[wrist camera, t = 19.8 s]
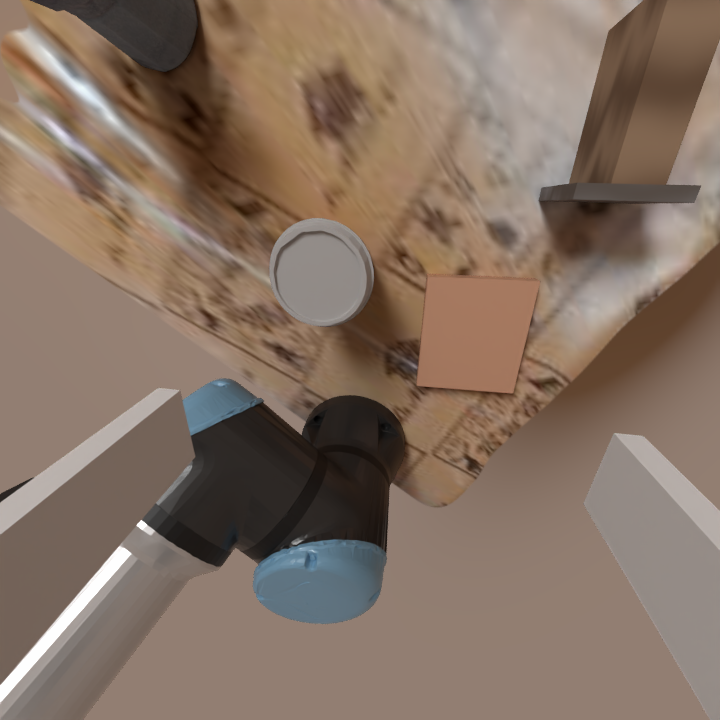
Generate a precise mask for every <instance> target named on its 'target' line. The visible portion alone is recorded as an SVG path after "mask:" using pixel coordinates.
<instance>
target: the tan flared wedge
mask: <svg viewBox="0 0 720 720" xmlns="http://www.w3.org/2000/svg"><path fill="white" fill-rule="evenodd" d="M719 40H720V0H643V1H642V2H641V3H640V4H639V5H638V6H637V7H635V8H634V9H633V10H632V11H631V12H630V13H629V14H627V15H626V16H625V17H624V18H623V19H622V20H621V21H619V22H618V23H617V24H616V25H615V26H614V27H613V28H612V29H610V30H609V32H608V36H607V40H606V43H605V47H604V51H603V55H602V59H601V63H600V66H599V70H598V74H597V78H596V82H595V86H594V90H593V93H592V97H591V101H590V105H589V109H588V113H587V116H586V120H585V124H584V128H583V132H582V136H581V139H580V143H579V147H578V151H577V155H576V159H575V162H574V166H573V170H572V174H571V178H570V182H569V184H564V185H557V186H550V187H543V188H542V189H541V193H540V197H539V201H563V202H596V203H630V204H640V203H694V202H695V200H696V197H697V195H698V192H699V190H700V187H701V186H696V185H666V183H667V181H668V178H669V175H670V172H671V170H672V167H673V164H674V162H675V159H676V156H677V154H678V151H679V148H680V145H681V143H682V140H683V137H684V135H685V132H686V129H687V127H688V124H689V121H690V118H691V116H692V113H693V110H694V108H695V105H696V102H697V99H698V97H699V94H700V91H701V89H702V86H703V83H704V81H705V78H706V75H707V72H708V70H709V67H710V64H711V62H712V59H713V56H714V54H715V51H716V48H717V45H718V43H719Z"/></svg>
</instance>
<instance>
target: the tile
mask: <svg viewBox="0 0 720 720" xmlns="http://www.w3.org/2000/svg"><path fill="white" fill-rule="evenodd" d="M539 285H540V281H539V280H537V279H535V278H516V277H492V276H468V275H444V274H427V278H426V288H425V298H424V308H423V318H422V328H421V338H420V348H419V358H418V368H417V378H416V384H417V386H425V387H437V388H450V389H463V390H475V391H488V392H501V393H513V392H514V387H515V383H516V379H517V375H518V371H519V367H520V363H521V359H522V355H523V350H524V346H525V342H526V338H527V334H528V330H529V326H530V322H531V318H532V314H533V309H534V305H535V301H536V297H537V293H538V289H539Z"/></svg>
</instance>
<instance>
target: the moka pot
mask: <svg viewBox="0 0 720 720" xmlns="http://www.w3.org/2000/svg"><path fill="white" fill-rule="evenodd" d="M30 1H33V2H35V3H38V4H40V5H43V6H45V7H48V8H50V9H52V10H55V11H61V10H65V11H67V12H69V13H71V14H73V15H75V16H77V17H78V18H79V19H81V20H82V21H83V22H85V23H86V24H87V25H88V26H90V27H91V28H92V29H94V30H95V31H96V32H98V33H99V34H100V35H102V36H103V37H104V38H106V39H107V40H108V41H110V42H111V43H112V44H114V45H115V46H116V47H118V48H119V49H120V50H121V51H123V52H124V53H125V54H127V55H128V56H129V57H131V58H132V59H133V60H135V61H136V62H137V63H139V64H140V65H141V66H144V67H146V68H150V69H153V70H158V71H161V72H166V71H169V70H171V69H174V68H176V67H178V66H179V65H180V64H181V63H182V62H183V61H184V60H185V59H186V57H187V56H188V54H189V53H190V51H191V49H192V45H193V41H194V38H195V34H196V29H197V27H198V21H197V14H196V9H195V3H194V0H30Z"/></svg>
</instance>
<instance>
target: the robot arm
mask: <svg viewBox="0 0 720 720" xmlns="http://www.w3.org/2000/svg"><path fill="white" fill-rule="evenodd" d="M263 402H264V400H263V399H261V398H257V397H256V396H254V395H253V394H252V393H250V392H249V391H248V390H246V389H245V388H244V387H243V386H241V385H240V384H239V383H237V382H236V381H234V380H231V379H226V378H224V379H217V380H215V381H212V382H210V383H208V384H206V385H204V386H203V387H201V388H200V389H198V390H197V391H195V392H194V393H192V394H191V395H189V396H188V397H186V398H185V399H184V400H182V396H181V392H180V390H173V389H163V388H158V389H157V390H155V391H154V392H152V393H151V394H150V395H148V396H147V397H145V398H144V399H143V400H141V401H140V402H138V403H137V404H136V405H134V406H133V407H131V408H130V409H129V410H128V411H126V412H125V413H123V414H122V415H120V416H119V417H118V418H117V419H115V420H114V421H112V422H111V423H109V424H108V425H107V426H106V427H104V428H103V429H101V430H100V431H98V432H97V433H96V434H94V435H93V436H91V437H90V438H89V439H87V440H86V441H85V442H83V443H82V444H80V445H79V446H78V447H76V448H75V449H74V450H72V451H71V452H69V453H68V454H67V455H65V456H64V457H63V458H61V459H60V460H58V461H57V462H56V463H55V464H53V465H51V466H50V467H49V468H48V469H46V470H45V471H43V472H42V473H40V474H39V475H38V476H36V477H35V478H31V479H29V480H27V481H25V482H23V483H21V484H19V485H17V486H15V487H13V488H11V489H9V490H7V491H5V492H3V493H1V494H0V720H83V719H84V718H85V716H86V715H87V714H88V713H89V711H90V710H91V709H92V707H93V706H94V705H95V703H96V702H97V701H98V699H99V698H100V697H101V695H102V694H103V693H104V691H105V690H106V689H107V687H108V686H109V685H110V684H111V682H112V681H113V680H114V678H115V677H116V676H117V674H118V673H119V672H120V670H121V669H122V668H123V666H124V665H125V664H126V662H127V661H128V660H129V659H130V657H131V656H132V655H133V653H134V652H135V651H136V649H137V648H138V647H139V645H140V644H141V643H142V641H143V640H144V639H145V637H146V636H147V635H148V633H149V632H150V631H151V629H152V628H153V627H154V625H155V624H156V623H157V622H158V620H159V619H160V618H161V616H162V615H163V614H164V612H165V611H166V610H167V608H168V607H169V606H170V604H171V603H172V602H173V601H174V599H175V598H176V597H177V595H178V594H179V593H180V591H181V590H182V589H183V587H184V586H185V585H186V583H187V582H188V581H189V580H190V579H192V578H193V577H196V576H199V575H202V574H206V573H210V572H213V571H217V570H218V569H219V568H220V567H221V566H222V565H223V563H224V562H225V561H226V559H227V558H228V557H229V555H230V554H231V552H232V551H233V550H234V549H235V548H237V549H239V550H240V551H241V552H243V553H244V554H246V555H247V556H248V557H250V558H251V559H252V560H254V561H255V562H256V563H258V566H257V567H256V569H255V571H254V581H253V589H254V592H255V593H256V597H257V598H258V600H259V601H260V603H262V604H263V605H264V606H265V607H266V608H267V609H269V610H270V611H272V612H274V613H276V614H278V615H280V616H283V617H285V618H288V619H291V620H296V621H300V622H306V623H321V624H329V623H338V622H343V621H347V620H350V619H353V618H355V617H358V616H359V615H362V614H363V613H365V612H366V611H367V610H369V609H370V608H371V607H372V606H373V605H374V603H375V602H376V600H377V598H378V596H379V594H380V591H381V587H382V580H383V571H384V566H385V564H386V560H387V557H386V549H387V548H386V547H387V528H388V506H389V487H390V484H391V483H392V481H393V479H394V477H395V475H396V473H397V471H398V470H399V468H400V466H401V464H402V461H403V457H404V450H405V437H404V432H403V429H402V426H401V424H400V422H399V421H398V419H397V418H396V417H395V415H394V414H393V413H392V412H391V411H390V410H389V409H387V408H386V407H385V406H383V405H382V404H380V403H378V402H376V401H374V400H371V399H368V398H365V397H360V396H351V395H349V396H339V397H334V398H331V399H329V400H326V401H324V402H323V403H321V404H320V405H318V406H317V407H316V408H315V409H314V410H313V411H312V412H311V414H310V415H309V417H308V419H307V421H306V424H305V426H304V428H303V432H302V435H300V434H299V433H298V432H297V431H296V430H295V429H293V428H292V427H291V426H290V425H289V424H287V423H286V422H285V421H284V420H283V419H282V418H281V417H279V416H278V415H277V414H276V413H275V412H273V411H272V410H271V409H270V408H269V407H268V406H267V405H265V404H264V403H263ZM584 506H585V508H586V509H587V511H588V513H589V514H590V516H591V518H592V520H593V521H594V523H595V525H596V526H597V528H598V530H599V531H600V533H601V535H602V537H603V538H604V540H605V542H606V543H607V545H608V547H609V549H610V550H611V552H612V554H613V555H614V557H615V559H616V560H617V562H618V564H619V565H620V567H621V569H622V571H623V572H624V574H625V576H626V578H627V579H628V581H629V583H630V584H631V586H632V588H633V589H634V591H635V593H636V594H637V596H638V598H639V599H640V601H641V603H642V605H643V606H644V608H645V610H646V611H647V613H648V615H649V617H650V618H651V620H652V622H653V623H654V625H655V627H656V628H657V630H658V632H659V634H660V636H661V637H662V639H663V641H664V642H665V644H666V646H667V647H668V649H669V651H670V652H671V654H672V656H673V658H674V659H675V661H676V663H677V664H678V666H679V668H680V670H681V671H682V673H683V675H684V676H685V678H686V680H687V682H688V683H689V685H690V687H691V688H692V690H693V692H694V693H695V695H696V697H697V699H698V700H699V702H700V704H701V706H702V707H703V709H704V711H705V712H706V714H707V716H708V717H709V719H710V720H720V511H719V510H718V509H717V508H716V507H715V506H714V505H713V504H712V503H711V502H710V501H709V500H708V499H707V498H706V497H705V496H704V495H703V494H702V493H701V492H700V491H699V490H698V489H697V488H696V487H695V486H694V485H693V484H692V483H691V482H689V480H687V479H686V478H685V477H684V476H683V475H682V474H681V473H680V472H679V471H678V470H677V469H676V468H675V467H674V466H673V465H672V464H671V463H670V462H669V461H668V460H667V459H666V458H665V457H664V456H663V455H662V454H661V453H660V452H659V451H658V450H657V449H656V448H655V447H654V446H653V445H652V444H651V443H650V442H649V441H648V440H647V439H646V438H644V436H638V435H627V434H617V433H614V434H613V436H612V439H611V441H610V443H609V446H608V448H607V450H606V453H605V455H604V457H603V459H602V462H601V464H600V466H599V469H598V471H597V474H596V476H595V478H594V480H593V483H592V485H591V487H590V490H589V492H588V494H587V497H586V499H585V501H584Z"/></svg>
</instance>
